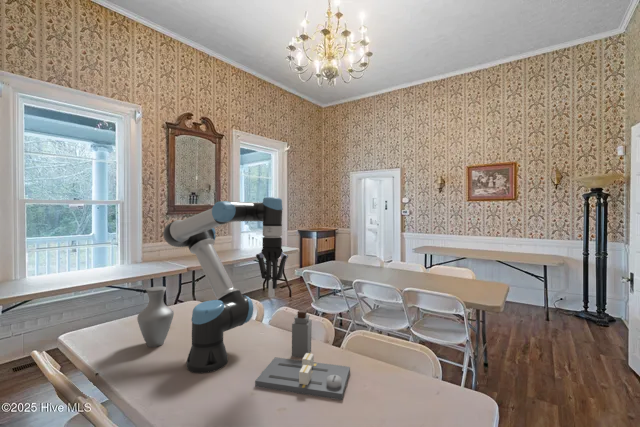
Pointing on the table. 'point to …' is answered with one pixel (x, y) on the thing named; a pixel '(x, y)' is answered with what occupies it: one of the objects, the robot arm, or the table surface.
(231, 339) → the table surface
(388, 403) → the table surface
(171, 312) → the vase
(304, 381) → the fader near
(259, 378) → the console
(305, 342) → the perfume bottle
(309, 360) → the fader far
